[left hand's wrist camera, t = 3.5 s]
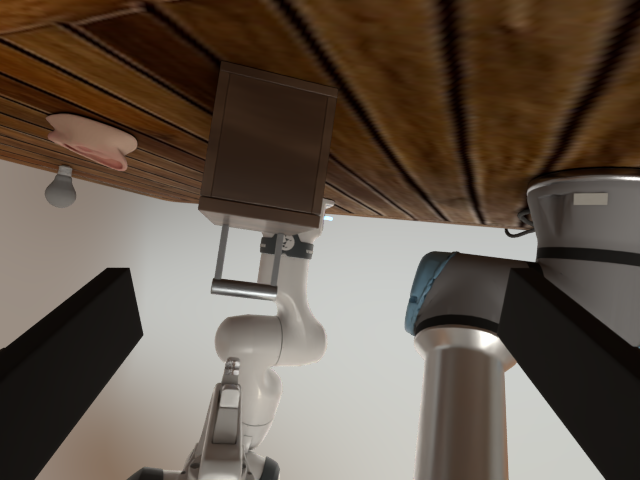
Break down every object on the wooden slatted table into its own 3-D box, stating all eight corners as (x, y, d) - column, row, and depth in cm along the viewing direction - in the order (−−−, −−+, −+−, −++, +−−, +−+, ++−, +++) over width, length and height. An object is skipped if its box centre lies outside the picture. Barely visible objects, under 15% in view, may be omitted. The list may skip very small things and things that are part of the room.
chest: (304, 144, 45) (292, 226, 45) (228, 128, 43) (214, 214, 43) (338, 88, 30) (320, 215, 29) (221, 60, 28) (200, 195, 27)
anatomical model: (38, 137, 43) (143, 163, 50) (44, 105, 43) (147, 134, 50) (43, 154, 54) (128, 174, 61) (48, 129, 54) (132, 150, 61)
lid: (291, 227, 46) (281, 298, 45) (215, 215, 44) (203, 289, 43) (320, 215, 29) (305, 327, 29) (199, 195, 27) (180, 315, 27)
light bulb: (76, 165, 84) (69, 208, 83) (84, 170, 89) (77, 210, 89) (46, 160, 82) (38, 203, 81) (55, 165, 87) (48, 206, 87)
